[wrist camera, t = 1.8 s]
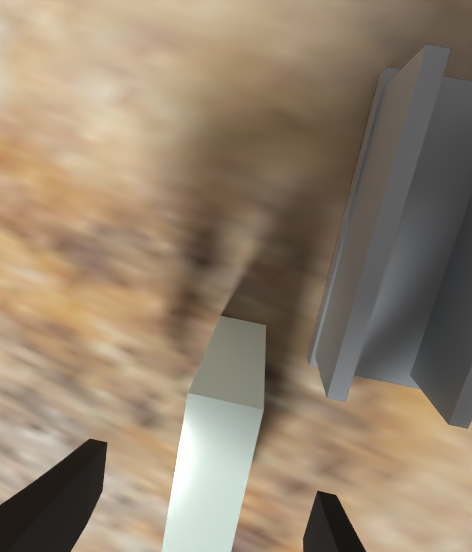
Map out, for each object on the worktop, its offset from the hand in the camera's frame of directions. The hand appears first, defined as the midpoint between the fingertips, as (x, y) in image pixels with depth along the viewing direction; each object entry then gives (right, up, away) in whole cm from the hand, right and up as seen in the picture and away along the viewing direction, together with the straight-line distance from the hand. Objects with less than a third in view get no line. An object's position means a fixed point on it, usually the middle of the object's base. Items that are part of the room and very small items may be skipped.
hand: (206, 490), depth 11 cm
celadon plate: (+1, +1, +4) cm, 5 cm away
